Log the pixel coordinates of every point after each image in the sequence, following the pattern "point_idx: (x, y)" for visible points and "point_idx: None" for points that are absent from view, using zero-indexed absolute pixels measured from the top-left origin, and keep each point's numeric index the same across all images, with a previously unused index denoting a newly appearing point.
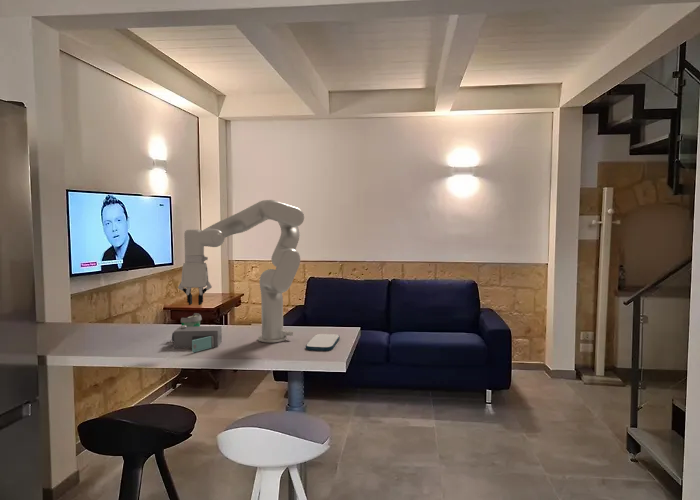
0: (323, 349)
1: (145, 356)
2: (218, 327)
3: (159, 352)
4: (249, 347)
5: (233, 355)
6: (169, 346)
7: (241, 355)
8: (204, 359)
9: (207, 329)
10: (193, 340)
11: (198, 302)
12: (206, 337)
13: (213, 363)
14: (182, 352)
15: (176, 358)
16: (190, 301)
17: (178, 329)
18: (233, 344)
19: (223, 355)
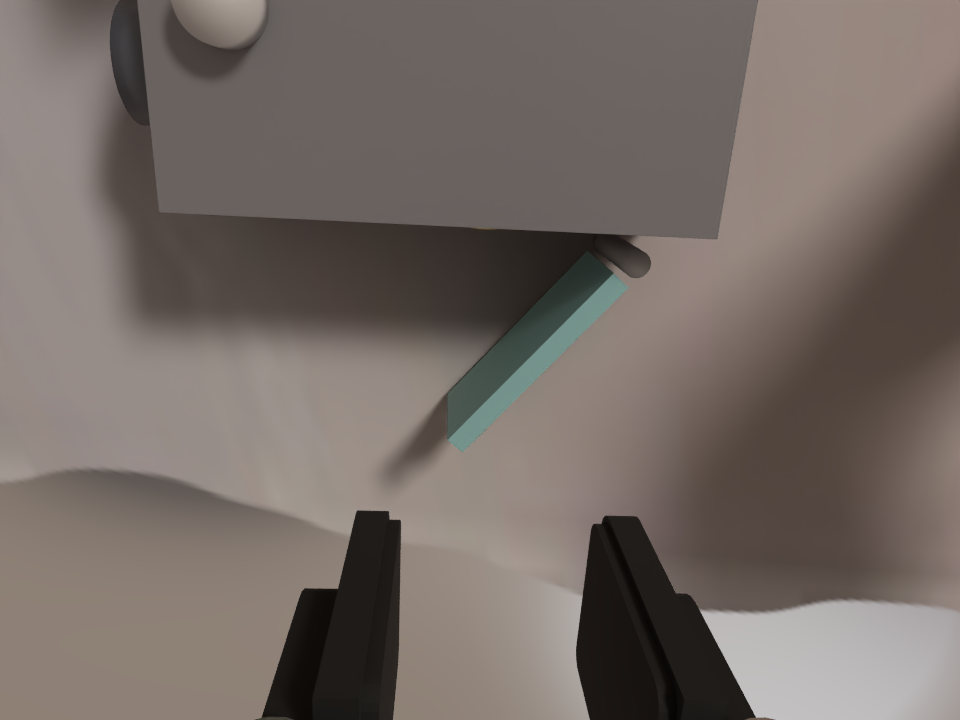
0: None
1: (79, 458)
2: (727, 29)
3: (147, 347)
4: (940, 262)
5: (782, 494)
6: None
7: (842, 499)
8: (572, 572)
9: (584, 148)
10: (463, 446)
11: (587, 699)
12: (579, 331)
13: None
14: (357, 368)
15: None
16: (392, 711)
17: (180, 96)
18: (806, 121)
19: (707, 487)
